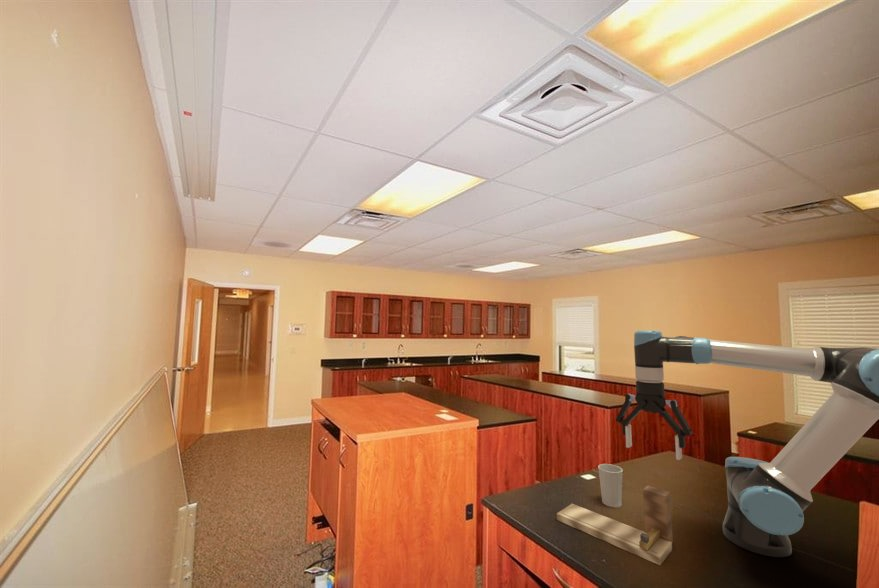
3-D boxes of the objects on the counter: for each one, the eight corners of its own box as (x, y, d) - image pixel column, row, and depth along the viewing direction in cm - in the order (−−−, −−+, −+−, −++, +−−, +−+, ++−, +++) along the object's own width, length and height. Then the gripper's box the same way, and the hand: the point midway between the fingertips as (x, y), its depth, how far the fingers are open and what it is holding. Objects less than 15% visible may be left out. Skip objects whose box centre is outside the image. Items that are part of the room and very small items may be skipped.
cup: (598, 505, 126) (597, 469, 127) (600, 495, 133) (598, 462, 134) (624, 510, 122) (622, 474, 124) (624, 500, 129) (622, 466, 131)
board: (672, 549, 101) (671, 542, 101) (660, 565, 94) (659, 557, 94) (572, 509, 123) (572, 503, 123) (556, 519, 117) (556, 513, 117)
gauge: (672, 542, 104) (670, 492, 106) (656, 563, 95) (653, 507, 96) (650, 533, 109) (647, 485, 110) (632, 552, 100) (629, 499, 101)
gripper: (702, 384, 103) (706, 461, 101) (613, 375, 122) (615, 439, 120) (694, 387, 98) (699, 468, 96) (603, 377, 117) (605, 444, 115)
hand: (652, 452), depth 108 cm, fingers open, 13 cm apart
